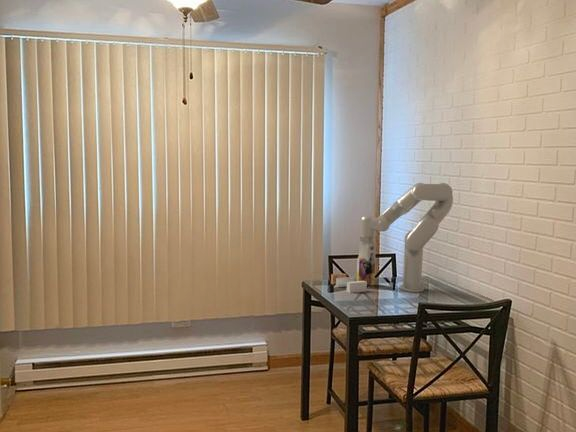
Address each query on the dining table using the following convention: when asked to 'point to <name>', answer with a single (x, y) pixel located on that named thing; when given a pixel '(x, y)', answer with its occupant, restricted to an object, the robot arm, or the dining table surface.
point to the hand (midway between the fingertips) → (365, 272)
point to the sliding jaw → (341, 280)
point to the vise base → (356, 286)
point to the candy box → (364, 272)
